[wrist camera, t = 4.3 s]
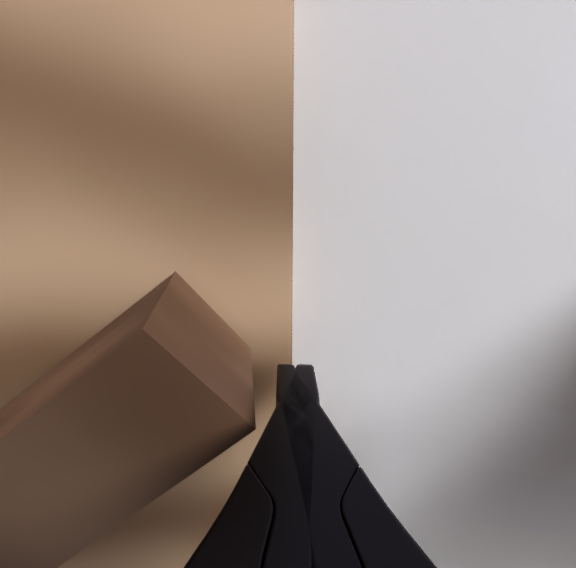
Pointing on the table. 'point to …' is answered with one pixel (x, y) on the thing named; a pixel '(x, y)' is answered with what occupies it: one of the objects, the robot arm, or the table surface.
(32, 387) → the stool leg
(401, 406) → the table surface
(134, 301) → the stool seat
